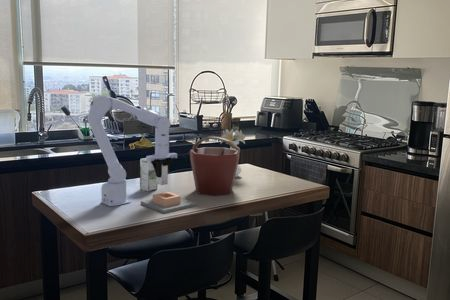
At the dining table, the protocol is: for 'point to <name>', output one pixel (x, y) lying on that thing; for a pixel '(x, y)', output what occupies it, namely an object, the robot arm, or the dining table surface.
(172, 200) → the well board
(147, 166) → the syrup box
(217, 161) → the bucket
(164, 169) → the steel block
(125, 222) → the dining table surface
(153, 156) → the robot arm
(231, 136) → the flower vase
